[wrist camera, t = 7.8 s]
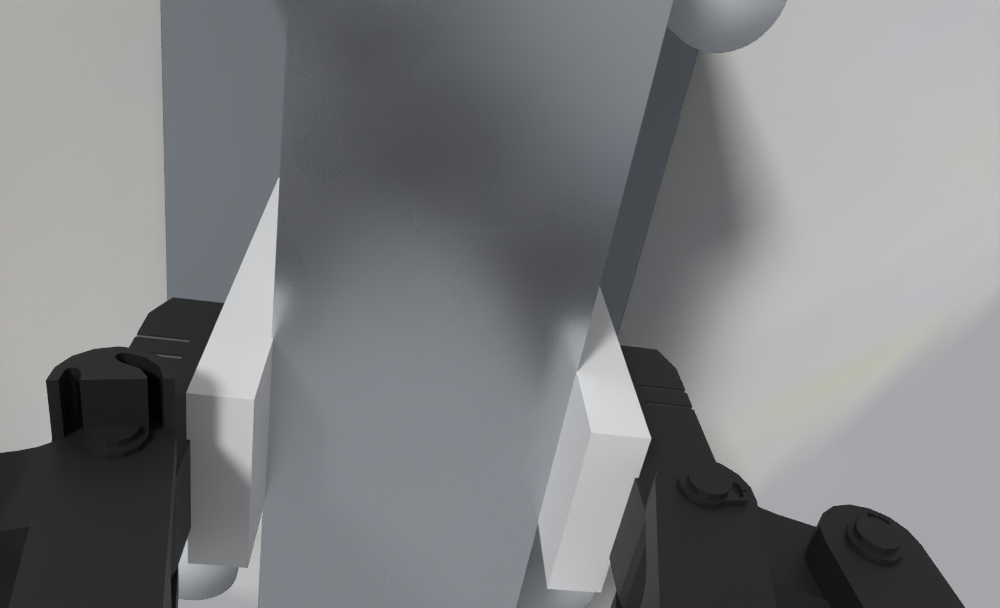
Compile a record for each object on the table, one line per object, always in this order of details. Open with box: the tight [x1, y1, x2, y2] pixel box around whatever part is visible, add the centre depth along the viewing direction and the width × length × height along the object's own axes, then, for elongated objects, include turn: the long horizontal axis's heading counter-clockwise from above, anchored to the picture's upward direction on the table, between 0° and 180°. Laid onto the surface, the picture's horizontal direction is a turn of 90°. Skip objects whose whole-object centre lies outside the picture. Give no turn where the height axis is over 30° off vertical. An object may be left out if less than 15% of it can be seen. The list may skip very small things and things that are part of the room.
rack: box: [161, 0, 787, 608], centre depth 17 cm, size 11×17×6 cm, turn 170°
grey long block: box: [258, 0, 673, 608], centre depth 15 cm, size 17×4×6 cm, turn 170°
